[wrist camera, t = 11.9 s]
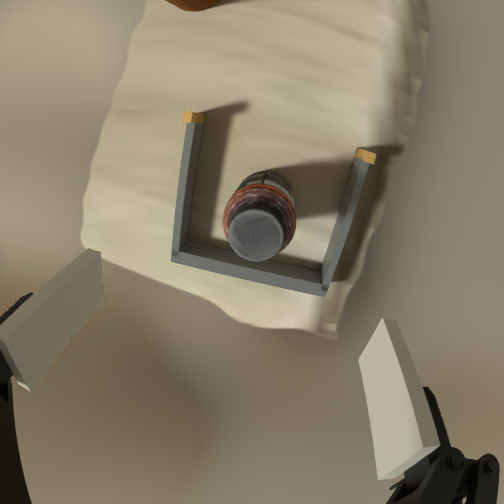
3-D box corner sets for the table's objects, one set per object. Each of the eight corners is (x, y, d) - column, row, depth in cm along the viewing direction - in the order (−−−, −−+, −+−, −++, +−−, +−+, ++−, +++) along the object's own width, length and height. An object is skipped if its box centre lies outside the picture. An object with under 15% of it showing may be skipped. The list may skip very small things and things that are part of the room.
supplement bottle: (262, 234, 32) (250, 289, 22) (226, 194, 31) (195, 232, 20) (305, 201, 30) (314, 244, 20) (268, 158, 28) (258, 178, 18)
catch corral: (198, 112, 27) (184, 111, 23) (364, 149, 27) (376, 154, 23) (179, 250, 34) (166, 267, 30) (322, 283, 34) (326, 304, 30)
